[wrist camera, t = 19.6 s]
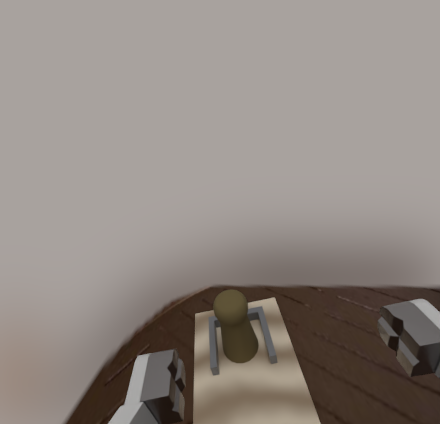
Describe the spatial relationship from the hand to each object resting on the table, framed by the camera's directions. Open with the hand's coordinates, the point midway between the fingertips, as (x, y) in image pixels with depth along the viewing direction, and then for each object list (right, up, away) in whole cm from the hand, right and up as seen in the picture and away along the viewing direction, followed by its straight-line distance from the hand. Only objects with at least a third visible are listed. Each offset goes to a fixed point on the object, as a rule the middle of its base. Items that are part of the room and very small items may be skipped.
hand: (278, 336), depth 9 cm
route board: (+2, -19, +29) cm, 34 cm away
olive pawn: (+1, -17, +30) cm, 35 cm away
